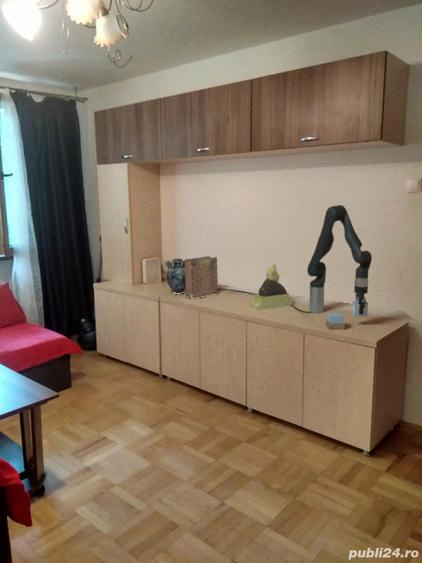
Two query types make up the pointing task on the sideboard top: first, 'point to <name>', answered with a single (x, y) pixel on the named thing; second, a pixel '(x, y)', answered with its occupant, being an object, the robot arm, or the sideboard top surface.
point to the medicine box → (356, 309)
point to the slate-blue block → (335, 318)
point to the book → (201, 276)
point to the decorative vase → (176, 275)
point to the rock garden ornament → (271, 292)
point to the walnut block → (335, 326)
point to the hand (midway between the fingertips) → (359, 312)
